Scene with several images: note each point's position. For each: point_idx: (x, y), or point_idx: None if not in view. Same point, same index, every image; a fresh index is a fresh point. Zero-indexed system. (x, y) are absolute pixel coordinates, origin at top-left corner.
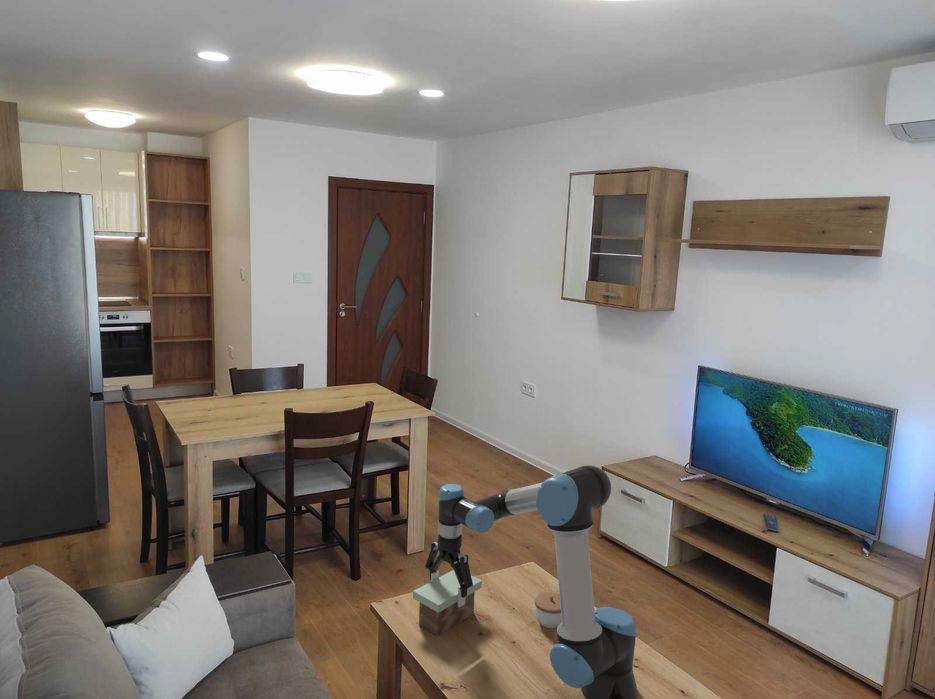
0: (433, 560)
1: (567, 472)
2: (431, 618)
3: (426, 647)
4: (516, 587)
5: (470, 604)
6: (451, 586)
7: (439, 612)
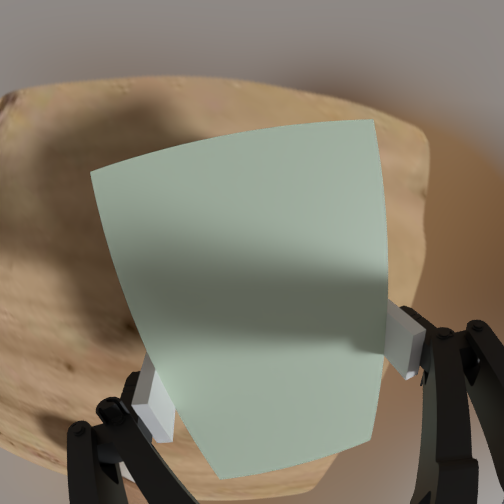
0: (477, 394)
1: None
2: None
3: (155, 122)
4: None
5: None
6: (259, 380)
7: None
